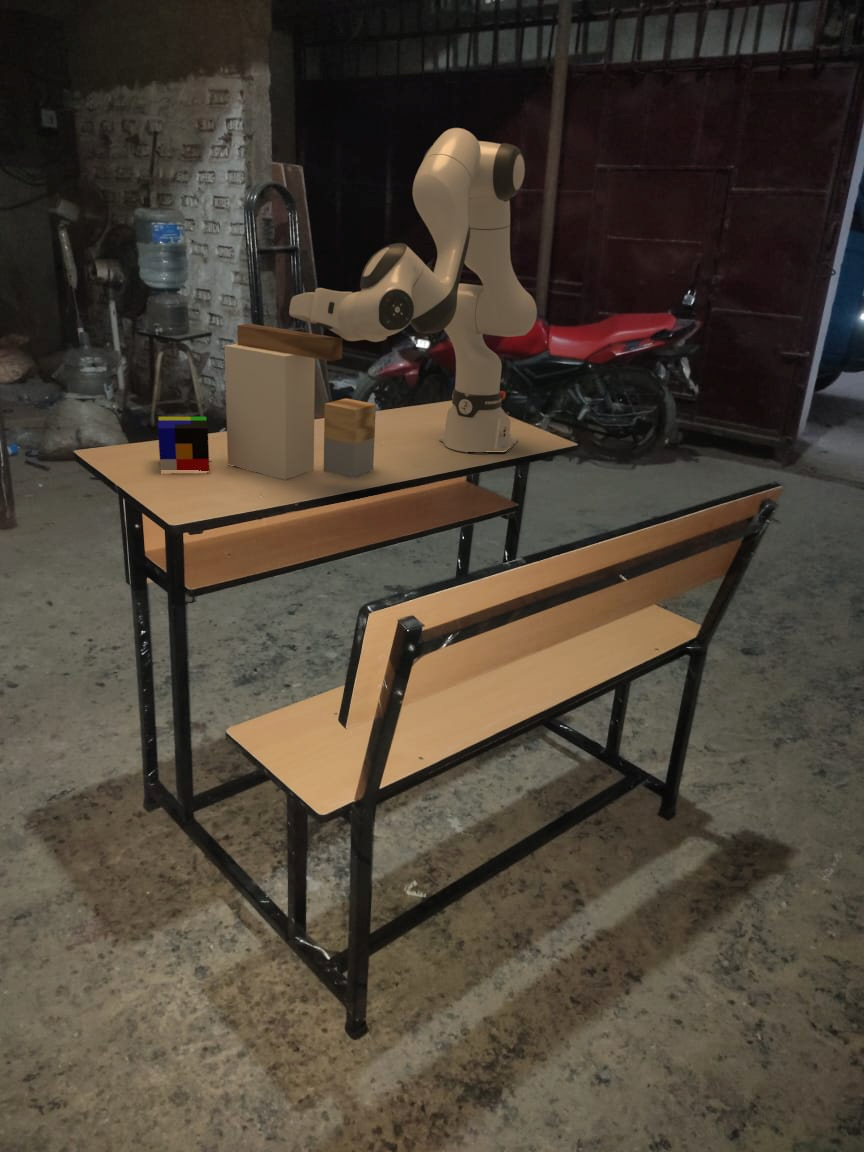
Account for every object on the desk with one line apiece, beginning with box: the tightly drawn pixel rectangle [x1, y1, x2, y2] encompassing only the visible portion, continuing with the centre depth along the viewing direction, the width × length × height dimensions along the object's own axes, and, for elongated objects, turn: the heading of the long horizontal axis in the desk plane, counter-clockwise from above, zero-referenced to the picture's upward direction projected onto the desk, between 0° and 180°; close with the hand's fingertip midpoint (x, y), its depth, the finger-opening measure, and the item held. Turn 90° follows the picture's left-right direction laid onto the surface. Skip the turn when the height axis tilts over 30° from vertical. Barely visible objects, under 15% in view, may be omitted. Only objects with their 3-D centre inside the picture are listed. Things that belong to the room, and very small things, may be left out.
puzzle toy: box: [157, 416, 210, 472], centre depth 185 cm, size 10×10×10 cm
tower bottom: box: [323, 437, 375, 479], centre depth 191 cm, size 8×8×8 cm
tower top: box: [323, 397, 377, 444], centre depth 188 cm, size 8×8×8 cm
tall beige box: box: [224, 343, 316, 481], centre depth 185 cm, size 10×16×26 cm, turn 61°
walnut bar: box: [236, 323, 343, 362], centre depth 177 cm, size 4×24×4 cm, turn 61°
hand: (323, 322), depth 177 cm, fingers open, 8 cm apart
